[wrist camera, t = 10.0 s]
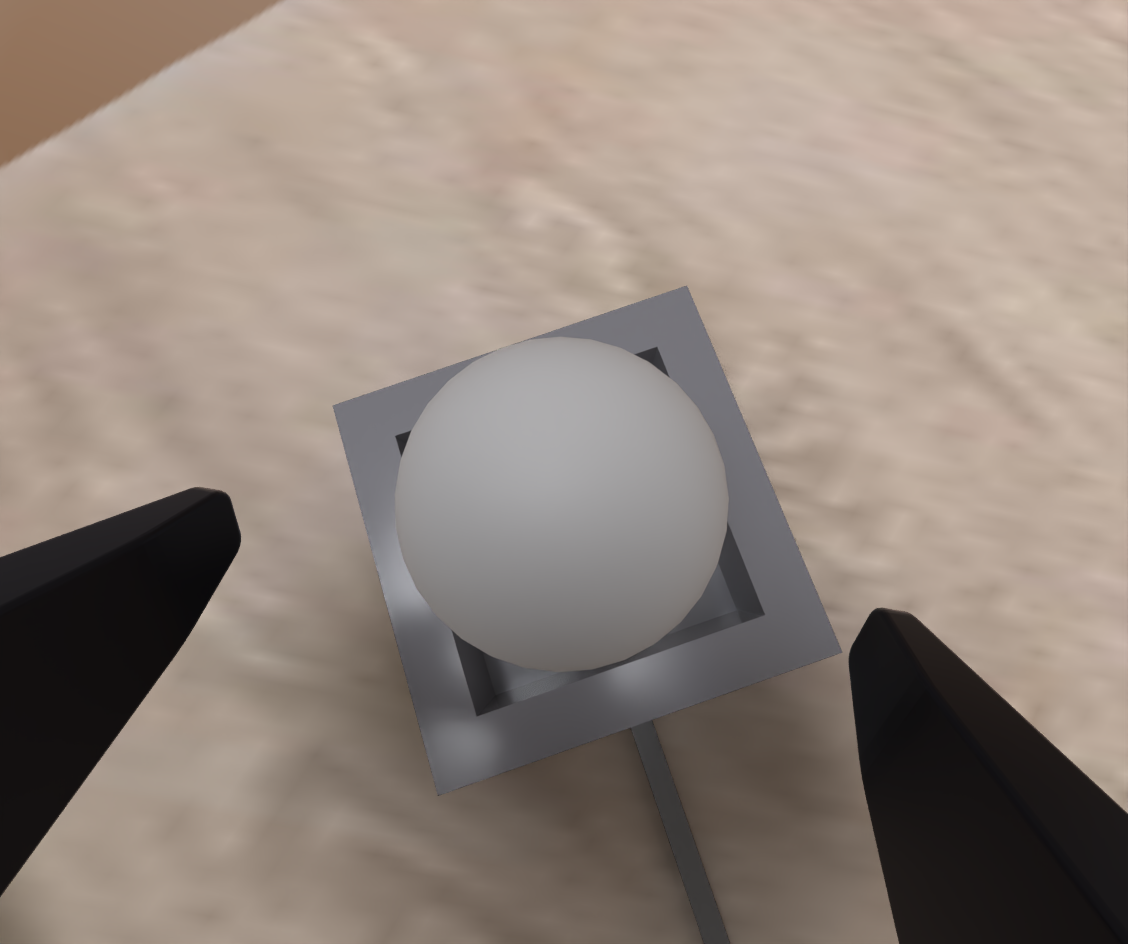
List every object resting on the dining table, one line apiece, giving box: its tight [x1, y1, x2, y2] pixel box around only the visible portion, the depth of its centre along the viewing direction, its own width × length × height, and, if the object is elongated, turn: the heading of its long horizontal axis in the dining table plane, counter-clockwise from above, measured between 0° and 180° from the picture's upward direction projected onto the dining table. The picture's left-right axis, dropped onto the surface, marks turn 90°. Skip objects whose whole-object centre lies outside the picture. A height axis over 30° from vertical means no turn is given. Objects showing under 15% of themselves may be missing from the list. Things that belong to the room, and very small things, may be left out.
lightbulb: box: [395, 337, 729, 672], centre depth 13 cm, size 6×6×11 cm
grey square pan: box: [333, 286, 842, 944], centre depth 17 cm, size 21×12×4 cm, turn 19°
